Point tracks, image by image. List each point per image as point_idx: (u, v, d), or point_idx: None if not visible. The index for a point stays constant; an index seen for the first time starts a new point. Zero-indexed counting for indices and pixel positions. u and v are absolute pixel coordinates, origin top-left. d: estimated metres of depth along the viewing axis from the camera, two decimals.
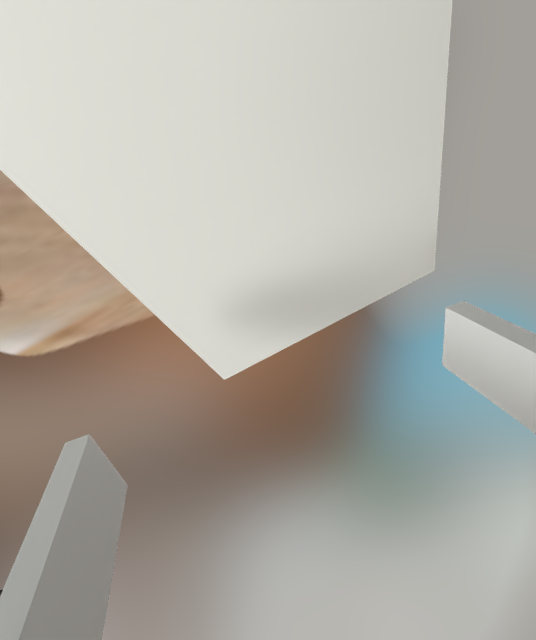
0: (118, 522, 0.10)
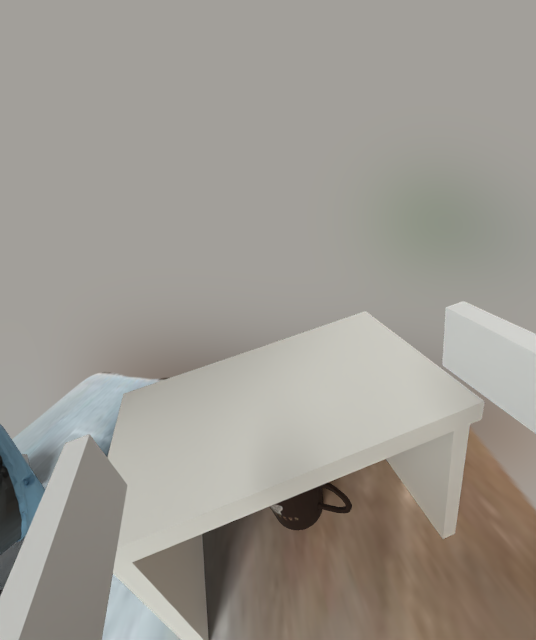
0: (118, 523, 0.10)
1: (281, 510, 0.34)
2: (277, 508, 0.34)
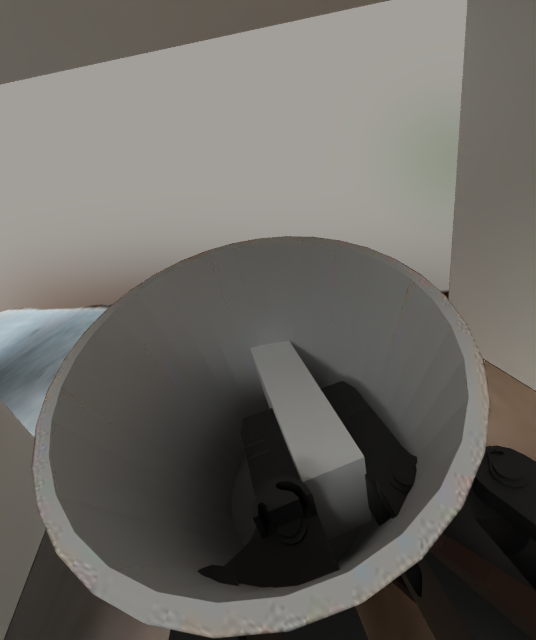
0: None
1: None
2: None
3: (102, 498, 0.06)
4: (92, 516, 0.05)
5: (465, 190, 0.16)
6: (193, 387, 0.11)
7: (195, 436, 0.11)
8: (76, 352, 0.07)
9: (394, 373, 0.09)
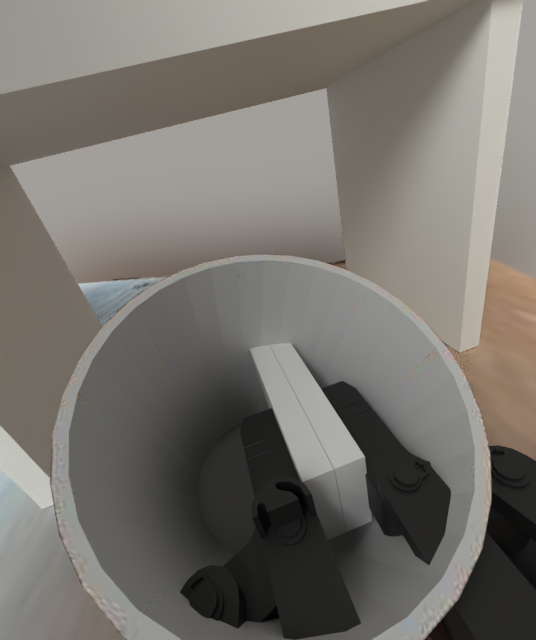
0: None
1: None
2: None
3: (111, 511, 0.06)
4: (108, 538, 0.05)
5: (340, 190, 0.29)
6: (189, 380, 0.11)
7: (181, 425, 0.11)
8: (93, 352, 0.07)
9: (389, 415, 0.09)
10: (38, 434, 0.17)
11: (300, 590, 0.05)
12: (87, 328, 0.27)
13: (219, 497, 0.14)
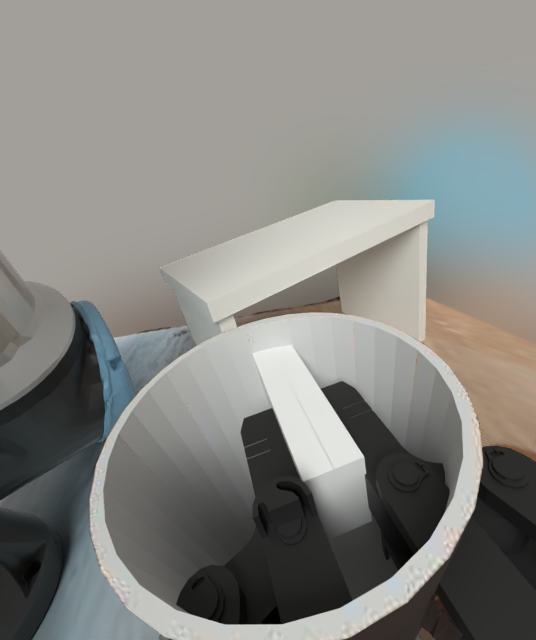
0: None
1: None
2: None
3: (138, 537, 0.07)
4: (130, 548, 0.06)
5: (338, 265, 0.53)
6: (226, 448, 0.12)
7: (225, 499, 0.12)
8: (132, 406, 0.09)
9: (416, 441, 0.09)
10: None
11: (301, 590, 0.05)
12: None
13: None
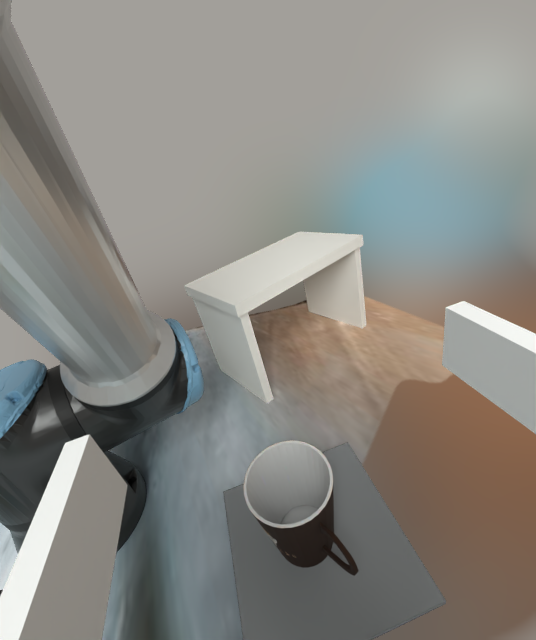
0: (118, 523, 0.10)
1: (276, 543, 0.29)
2: (272, 539, 0.29)
3: (256, 512, 0.28)
4: None
5: None
6: (269, 485, 0.33)
7: (268, 503, 0.33)
8: (246, 476, 0.30)
9: (328, 487, 0.30)
10: None
11: None
12: None
13: None
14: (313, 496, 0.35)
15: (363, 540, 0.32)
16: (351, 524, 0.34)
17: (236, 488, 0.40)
